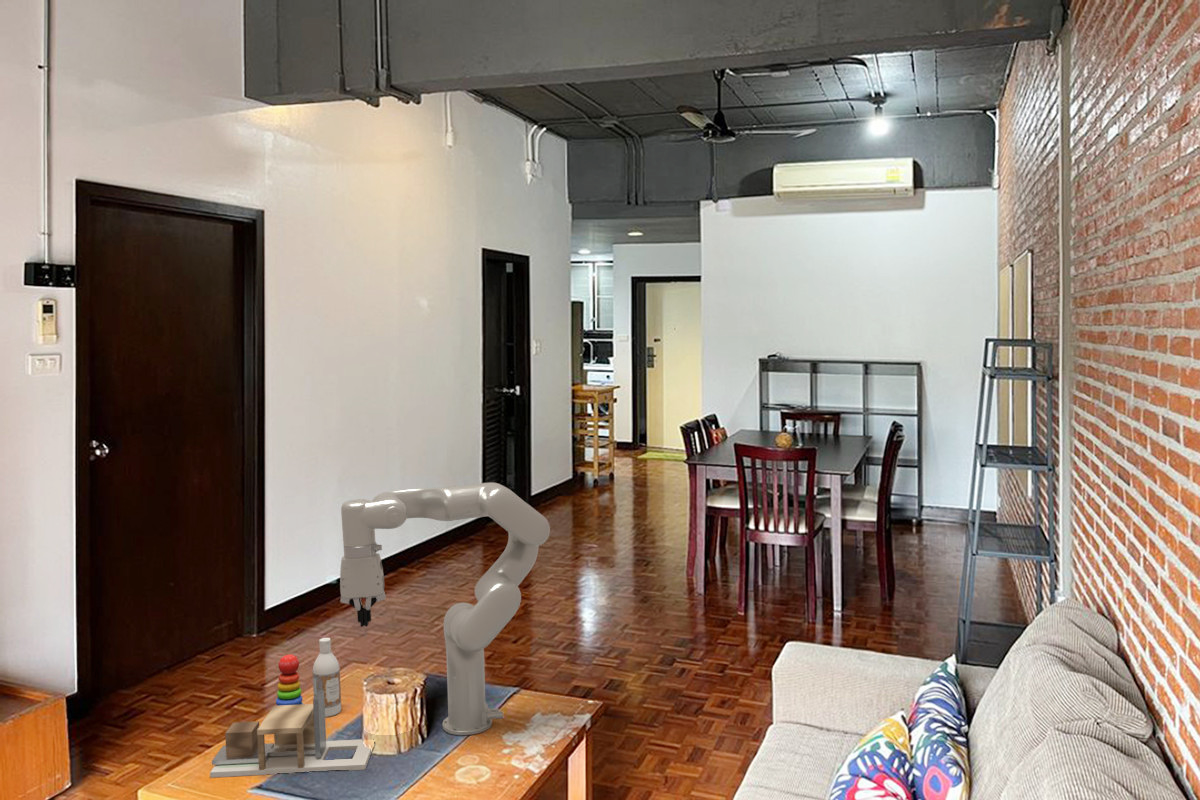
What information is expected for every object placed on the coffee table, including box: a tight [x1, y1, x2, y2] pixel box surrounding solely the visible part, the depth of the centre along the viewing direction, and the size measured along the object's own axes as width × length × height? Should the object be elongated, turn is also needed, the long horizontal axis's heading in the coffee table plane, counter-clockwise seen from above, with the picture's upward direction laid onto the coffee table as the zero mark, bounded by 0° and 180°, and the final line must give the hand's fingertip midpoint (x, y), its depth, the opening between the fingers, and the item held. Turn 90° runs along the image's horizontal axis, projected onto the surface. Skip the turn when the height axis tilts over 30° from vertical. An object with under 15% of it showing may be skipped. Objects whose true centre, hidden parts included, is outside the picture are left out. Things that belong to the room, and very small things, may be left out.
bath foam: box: [312, 637, 342, 718], centre depth 250 cm, size 7×7×20 cm
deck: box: [209, 738, 372, 778], centre depth 223 cm, size 35×14×1 cm, turn 94°
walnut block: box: [224, 720, 260, 758], centre depth 222 cm, size 6×6×6 cm
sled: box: [211, 690, 327, 766], centre depth 222 cm, size 25×8×14 cm, turn 94°
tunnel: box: [257, 703, 315, 770], centre depth 223 cm, size 10×14×10 cm
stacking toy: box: [275, 654, 304, 706], centre depth 242 cm, size 8×8×19 cm
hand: (364, 624), depth 229 cm, fingers closed
